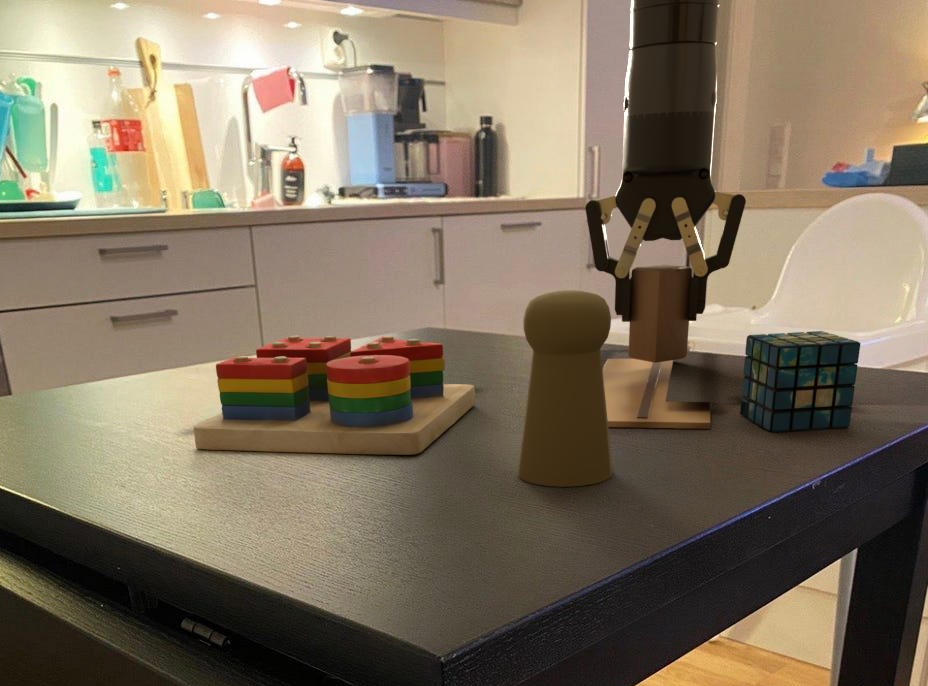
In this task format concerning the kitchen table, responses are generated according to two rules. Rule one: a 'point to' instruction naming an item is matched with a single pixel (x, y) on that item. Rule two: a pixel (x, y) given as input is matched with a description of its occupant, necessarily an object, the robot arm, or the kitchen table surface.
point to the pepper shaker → (566, 391)
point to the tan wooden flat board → (647, 397)
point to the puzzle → (799, 380)
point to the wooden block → (659, 313)
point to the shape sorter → (335, 398)
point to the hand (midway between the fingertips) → (658, 319)
